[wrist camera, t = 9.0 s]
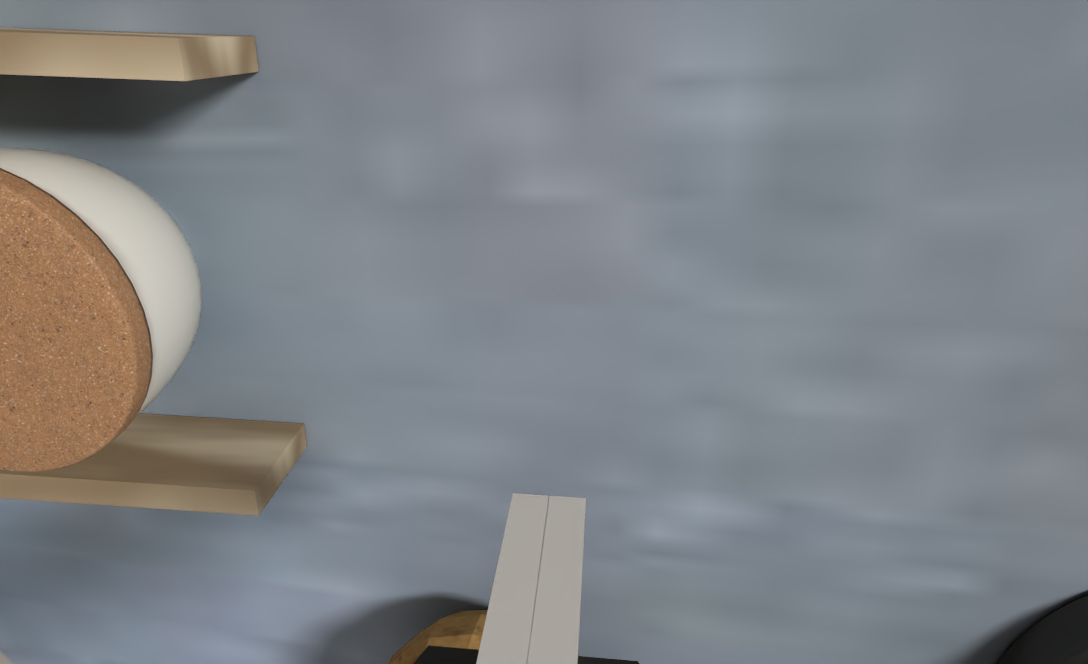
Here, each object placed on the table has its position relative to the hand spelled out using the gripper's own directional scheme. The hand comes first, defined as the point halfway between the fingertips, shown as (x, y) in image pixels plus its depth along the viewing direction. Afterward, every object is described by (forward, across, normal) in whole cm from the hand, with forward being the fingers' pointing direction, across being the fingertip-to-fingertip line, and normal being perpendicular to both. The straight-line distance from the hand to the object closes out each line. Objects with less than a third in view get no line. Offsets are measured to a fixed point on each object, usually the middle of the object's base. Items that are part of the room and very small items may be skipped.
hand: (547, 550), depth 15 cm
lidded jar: (+15, +19, -1) cm, 24 cm away
